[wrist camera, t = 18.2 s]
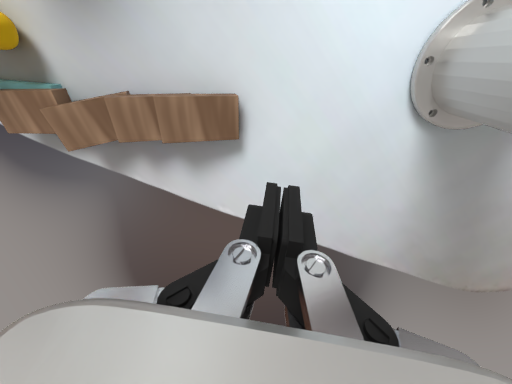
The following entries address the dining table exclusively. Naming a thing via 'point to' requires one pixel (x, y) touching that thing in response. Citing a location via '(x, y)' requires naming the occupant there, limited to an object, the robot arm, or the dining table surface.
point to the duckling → (7, 33)
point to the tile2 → (134, 117)
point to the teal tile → (27, 85)
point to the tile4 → (29, 109)
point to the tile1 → (197, 117)
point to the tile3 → (82, 122)
